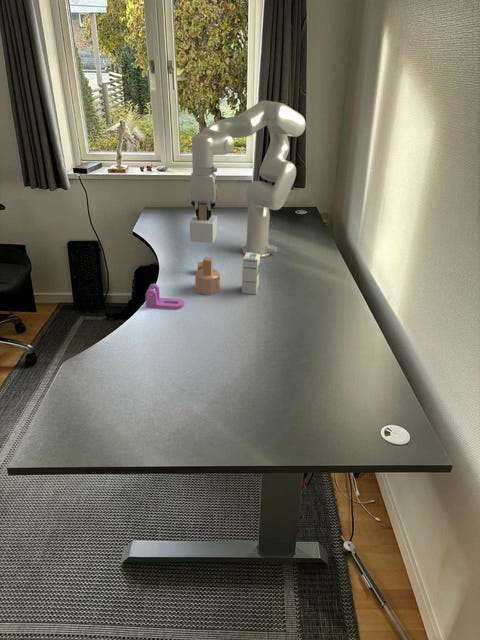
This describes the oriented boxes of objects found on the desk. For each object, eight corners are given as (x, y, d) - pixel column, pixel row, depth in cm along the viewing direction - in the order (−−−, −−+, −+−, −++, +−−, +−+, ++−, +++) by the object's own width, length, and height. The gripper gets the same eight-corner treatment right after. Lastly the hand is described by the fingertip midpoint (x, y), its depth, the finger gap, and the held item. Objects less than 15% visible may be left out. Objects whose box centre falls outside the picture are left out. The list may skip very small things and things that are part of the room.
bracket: (146, 307, 173) (145, 290, 169) (149, 300, 178) (148, 283, 174) (182, 310, 173) (182, 292, 169) (185, 302, 177) (184, 285, 174)
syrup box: (256, 294, 184) (258, 259, 177) (241, 292, 185) (242, 257, 178) (258, 288, 189) (261, 253, 182) (243, 286, 190) (245, 251, 183)
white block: (217, 234, 195) (217, 201, 188) (212, 243, 187) (212, 208, 180) (195, 232, 196) (194, 199, 189) (190, 241, 188) (189, 206, 181)
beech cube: (207, 270, 201) (207, 262, 199) (207, 275, 198) (207, 266, 195) (197, 271, 200) (197, 262, 198) (198, 275, 197) (197, 266, 195)
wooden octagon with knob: (221, 285, 190) (222, 255, 183) (217, 296, 182) (217, 265, 176) (198, 283, 191) (198, 253, 184) (193, 293, 183) (193, 262, 177)
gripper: (226, 169, 180) (226, 217, 190) (183, 166, 182) (185, 213, 192) (223, 174, 174) (222, 223, 183) (178, 171, 176) (180, 220, 185)
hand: (203, 218), depth 187 cm, fingers closed on white block, 3 cm apart
